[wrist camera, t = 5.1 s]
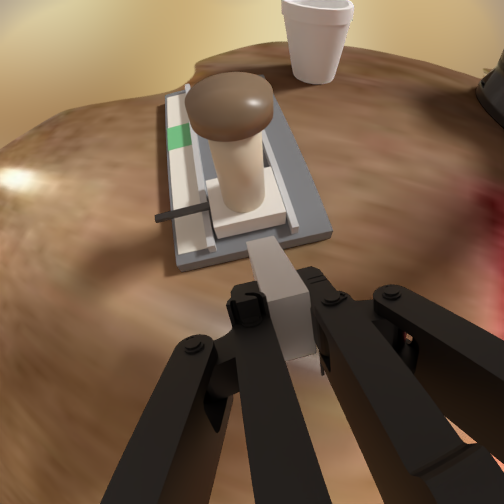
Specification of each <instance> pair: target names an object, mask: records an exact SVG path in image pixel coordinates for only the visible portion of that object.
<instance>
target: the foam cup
mask: <svg viewBox="0 0 504 504" xmlns="http://www.w3.org/2000/svg"><path fill="white" fill-rule="evenodd" d="M281 1H282V14H283V15H284V20H285V26H286V32H287V39H288V45H289V51H290V58H291V65H292V71H293V75H294V76H295V77H296V78H297V79H298V80H301V81H303V82H305V83H310V84H325V83H328V82H331V81H332V80H333V78H334V75H335V73H336V70H337V66H338V63H339V60H340V56H341V53H342V50H343V46H344V43H345V39H346V36H347V33H348V29H349V26H350V22H351V21H353V12H354V5H353V3H352V2H351V1H349V0H281Z"/></svg>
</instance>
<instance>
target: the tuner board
mask: <svg viewBox="0 0 504 504" xmlns="http://www.w3.org/2000/svg"><path fill="white" fill-rule="evenodd" d="M258 76H260V77H262V78H264V79H265V77H264V75H258ZM265 80H266V79H265ZM189 90H190V85H189V84H186V85H185V90H183V91H179V92H175V93H171V94H168V95H165V119H166V146H167V165H168V181H169V194H170V207H171V211H172V210H176V209H180V208H184V207H188V206H192V205H196V204H200V203H205V202H209V198H208V192H207V186H206V180H211V179H215V178H217V174H216V170H215V166H214V162H213V158H212V154H211V151H210V147H209V143H208V139H205V138H203V137H201V136H199V135H198V134H196V133H195V132H194V130H193V129H192V127H191V125H190V121H189V118H188V114H187V111H186V108H185V97H186V95H187V93H188V91H189ZM273 111H274V113H273V118H272V120H271V122H270V124H269V125H268V126H267V127H266V128H265V129H264V130H262V147H263V164H264V168H266V167H271V168H272V171H273V174H274V177H275V180H276V183H277V186H278V189H279V192H280V195H281V198H282V201H283V204H284V207H285V210H286V222H285V224H282V225H277V226H273V227H268V228H264V229H259V230H255V231H251V232H246V233H242V234H237V235H233V236H228V237H224V238H220V239H218V238H217V235H216V232H215V230H214V226H213V220H212V215H211V210H207V211H203V212H199V213H194V214H190V215H186V216H182V217H178V218H174V219H172V228H173V238H174V247H175V256H176V264H177V267H178V268H179V270H180V271H181V272H184V271H189V270H193V269H198V268H202V267H206V266H211V265H215V264H220V263H224V262H229V261H233V260H237V259H242V258H246V257H249V253H248V249H247V244H246V242H248V241H252V240H256V239H261V238H265V237H269V236H274V237H275V238H276V240H277V241H278V243H279V245H280V246H281V248H282V249H285V248H290V247H294V246H298V245H303V244H307V243H312V242H316V241H320V240H325V239H329V238H331V235H332V232H333V229H332V226H331V224H330V221H329V219H328V216H327V214H326V211H325V208H324V206H323V203H322V201H321V199H320V196H319V194H318V191H317V189H316V186H315V184H314V182H313V179H312V177H311V174H310V172H309V170H308V167H307V165H306V163H305V161H304V158H303V156H302V154H301V151H300V149H299V147H298V145H297V143H296V140H295V138H294V136H293V134H292V132H291V130H290V127H289V125H288V123H287V121H286V119H285V117H284V115H283V113H282V111H281V109H280V107H279V105H278V103H277V100H276V98H275V96H274V94H273Z"/></svg>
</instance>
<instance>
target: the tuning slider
mask: <svg viewBox="0 0 504 504" xmlns="http://www.w3.org/2000/svg"><path fill="white" fill-rule="evenodd" d="M185 108H186V111H187V114H188V118H189V121H190V125H191V127H192V129H193V130H194V132H195V133H196V134H198V135H199V136H201V137H203V138H205V139H208V143H209V147H210V151H211V154H212V158H213V162H214V166H215V170H216V174H217V178H215V179H211V180H206V186H207V192H208V198H209V202H205V203H200V204H196V205H192V206H188V207H184V208H180V209H176V210H172V211H168V212H165V213H161V214H157V215H155V222H156V223H159V222H163V221H166V220H170V219H174V218H178V217H182V216H186V215H190V214H194V213H199V212H203V211H207V210H211V215H212V220H213V226H214V230H215V232H216V235H217V238H218V239H220V238H224V237H228V236H233V235H237V234H242V233H246V232H251V231H255V230H259V229H264V228H268V227H273V226H277V225H282V224H285V222H286V210H285V207H284V204H283V201H282V198H281V195H280V192H279V189H278V186H277V183H276V180H275V177H274V174H273V171H272V168H271V167H266V168H264V164H263V147H262V130H264V129H265V128H266V127H267V126H268V125H269V124H270V122H271V120H272V118H273V113H274V111H273V89H272V86H271V85H270V83H269V82H268V81H267V80H265V79H264V78H262V77H260V76H258V75H255V74H251V73H246V72H227V73H221V74H217V75H213V76H210V77H208V78H206V79H203V80H202V81H200V82H198V83H197V84H195V85H194V86H193V87H192V88H191V89H190V90H189V91H188V93H187V95H186V97H185Z"/></svg>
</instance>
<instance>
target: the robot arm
mask: <svg viewBox="0 0 504 504" xmlns="http://www.w3.org/2000/svg"><path fill="white" fill-rule="evenodd" d="M476 95H477V98H478V100H479V101H480V103H481V104H482V106H483V107H484V108H485V110H486V111H487V112H488V113H489V114H490V115H491V116H492V117H493V118H494V119H495V120H496V121H497V122H498V123H499V124H500V125H501V126H503V127H504V50H503V53H502V55H501V57H500V59H499V62H498V64H497V66H496V67H495V68H494V69H493V70H492V71H491V72H489V73H488V74H487V75H486V76H485V77H484V78H483V79H482V80H481V81H480V82H479V84H478V86H477V89H476ZM246 244H247V249H248V253H249V258H250V262H251V267H252V271H253V276H254V280H255V281H252V282H248V283H244V284H239V285H235V286H234V287H233V289H232V291H231V298H230V299H229V300H228V301H227V304H226V307H227V310H228V314H229V317H230V320H231V324H232V330H231V331H230V332H229V333H227V334H226V335H225V336H223V337H221V338H219V339H217V340H214V341H213V340H212V338H211V337H209V336H207V335H200V334H199V335H193V336H190V337H187V338H185V339H184V340H182V341H181V342H179V343H178V345H177V346H176V347H175V349H174V351H173V353H172V355H171V357H170V359H169V361H168V363H167V365H166V367H165V369H164V371H163V373H162V375H161V377H160V379H159V381H158V383H157V385H156V387H155V389H154V391H153V393H152V395H151V397H150V399H149V401H148V403H147V405H146V407H145V409H144V411H143V413H142V416H141V418H140V420H139V422H138V424H137V426H136V428H135V430H134V432H133V434H132V436H131V438H130V440H129V442H128V445H127V447H126V449H125V451H124V453H123V455H122V457H121V459H120V461H119V464H118V466H117V468H116V470H115V472H114V474H113V476H112V479H111V481H110V483H109V485H108V487H107V490H106V492H105V494H104V496H103V498H102V500H101V503H100V504H208V503H209V499H210V495H211V491H212V487H213V483H214V479H215V474H216V470H217V466H218V462H219V458H220V453H221V449H222V445H223V441H224V436H225V432H226V428H227V424H228V419H229V415H230V411H231V406H232V402H233V394H235V393H237V392H240V398H241V406H242V414H243V421H244V429H245V436H246V444H247V451H248V458H249V465H250V472H251V479H252V485H253V492H254V498H255V504H332V502H331V499H330V496H329V493H328V490H327V487H326V484H325V481H324V478H323V475H322V472H321V469H320V466H319V463H318V460H317V457H316V454H315V451H314V448H313V445H312V442H311V439H310V436H309V433H308V430H307V427H306V424H305V421H304V418H303V415H302V412H301V409H300V405H299V402H298V399H297V396H296V393H295V390H294V387H293V384H292V381H291V378H290V375H289V372H288V369H287V366H286V363H285V361H289V360H293V359H297V358H301V357H304V356H308V355H312V354H315V353H316V345H317V347H318V349H319V355H320V365H321V375H322V376H323V375H324V370H325V373H326V375H327V377H328V379H329V381H330V383H331V386H332V388H333V390H334V392H335V394H336V396H337V399H338V401H339V403H340V405H341V407H342V410H343V412H344V414H345V416H346V418H347V421H348V423H349V425H350V427H351V429H352V432H353V434H354V436H355V438H356V440H357V443H358V445H359V447H360V449H361V452H362V454H363V456H364V458H365V461H366V463H367V465H368V467H369V470H370V472H371V474H372V476H373V479H374V481H375V483H376V486H377V488H378V490H379V492H380V495H381V497H382V499H383V502H384V504H504V472H503V471H502V469H501V468H500V466H499V465H498V464H497V462H496V461H495V459H494V458H493V456H494V457H496V458H497V459H498V460H499V461H501V462H502V463H503V464H504V341H503V340H502V339H500V338H498V337H496V336H494V335H493V334H491V333H489V332H487V331H486V330H484V329H482V328H480V327H478V326H476V325H475V324H473V323H471V322H469V321H467V320H465V319H464V318H462V317H460V316H458V315H456V314H454V313H453V312H451V311H449V310H447V309H445V308H443V307H441V306H439V305H437V304H436V303H434V302H432V301H430V300H428V299H426V298H424V297H422V296H420V295H418V294H416V293H414V292H413V291H411V290H409V289H407V288H405V287H402V286H399V285H392V284H391V285H385V286H382V287H379V288H378V289H376V290H375V291H374V293H373V300H363V301H354V300H353V299H352V298H351V296H350V295H348V294H347V293H345V292H342V291H336V289H335V288H334V287H333V286H332V284H331V283H330V282H329V281H328V280H327V278H326V277H325V276H324V274H323V273H322V272H321V271H320V270H319V269H317V268H315V267H312V266H311V267H307V268H303V269H299V270H295V268H294V267H293V265H292V263H291V262H290V260H289V259H288V257H287V256H286V254H285V252H284V251H283V249H282V248H281V246H280V245H279V243H278V241H277V240H276V238H275V237H274V236H269V237H265V238H261V239H256V240H252V241H248V242H246ZM407 333H408V334H409V335H411V336H412V337H413V339H412V341H410V340H408V339H407V338H406V334H407ZM446 417H447V418H448V419H449V420H450V421H451V422H453V423H454V424H455V425H456V426H458V427H459V428H460V429H461V430H462V431H464V432H465V433H466V434H467V435H469V436H470V437H471V438H472V439H473V440H475V441H476V442H477V443H474V444H466V443H464V442H463V441H462V440H461V438H460V437H459V436H458V434H457V433H456V431H455V430H454V429H453V427H452V426H451V424H450V423H449V422H448V420H447V419H446ZM490 453H491V454H492V455H493V456H492V455H491V454H490Z"/></svg>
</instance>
